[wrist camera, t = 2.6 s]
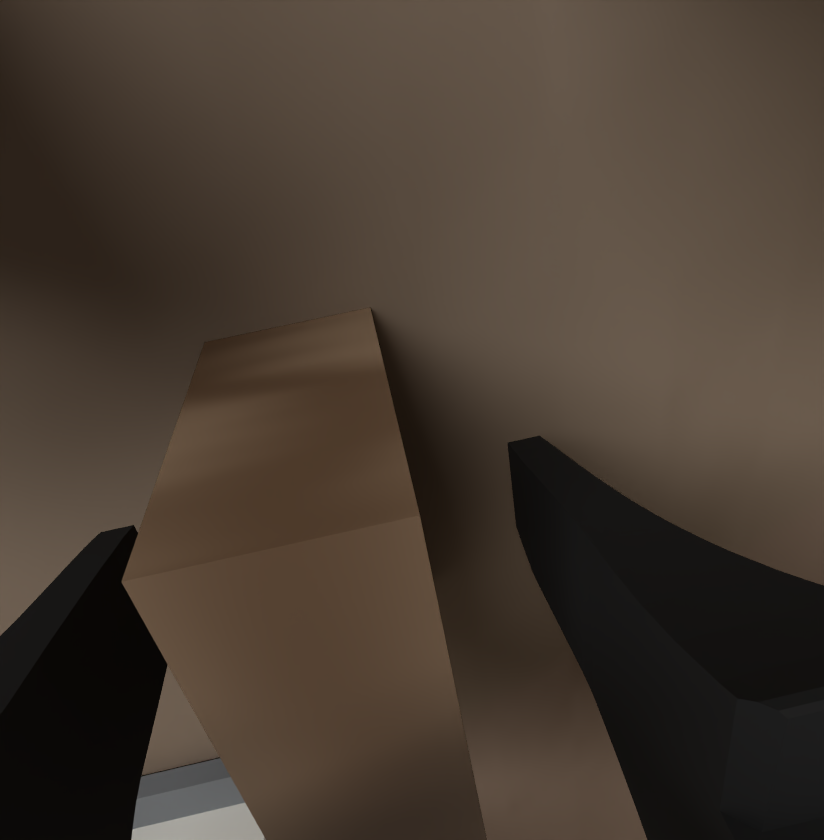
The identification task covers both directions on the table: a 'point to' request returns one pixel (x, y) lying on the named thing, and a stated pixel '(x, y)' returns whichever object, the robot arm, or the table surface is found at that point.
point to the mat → (184, 793)
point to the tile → (205, 826)
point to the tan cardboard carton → (306, 591)
